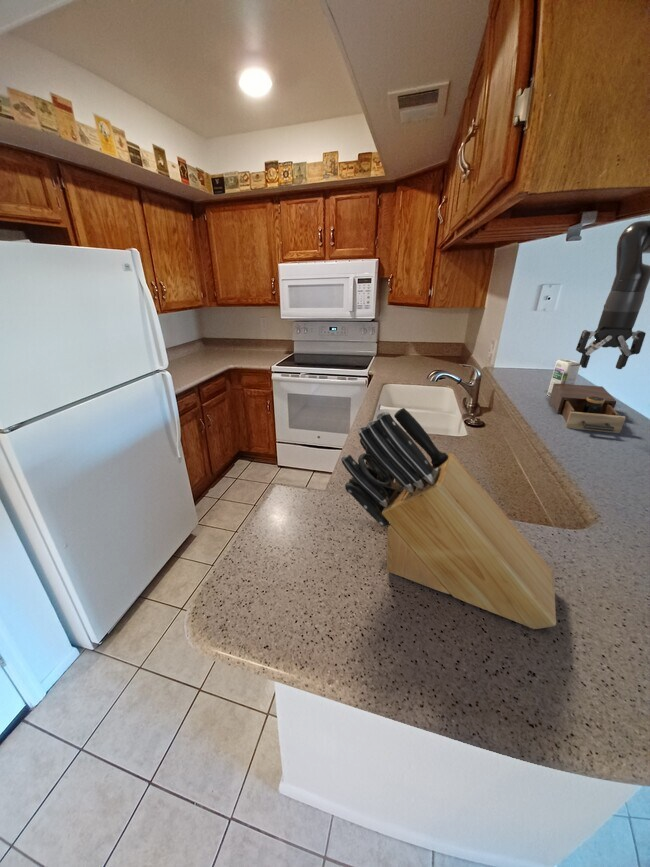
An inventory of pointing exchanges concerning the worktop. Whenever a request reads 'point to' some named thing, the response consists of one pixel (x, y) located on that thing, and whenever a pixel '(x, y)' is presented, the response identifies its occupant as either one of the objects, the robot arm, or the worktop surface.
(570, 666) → the worktop surface
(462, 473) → the knife block
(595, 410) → the spice tin
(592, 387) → the cabinet
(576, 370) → the syrup box
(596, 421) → the drawer
